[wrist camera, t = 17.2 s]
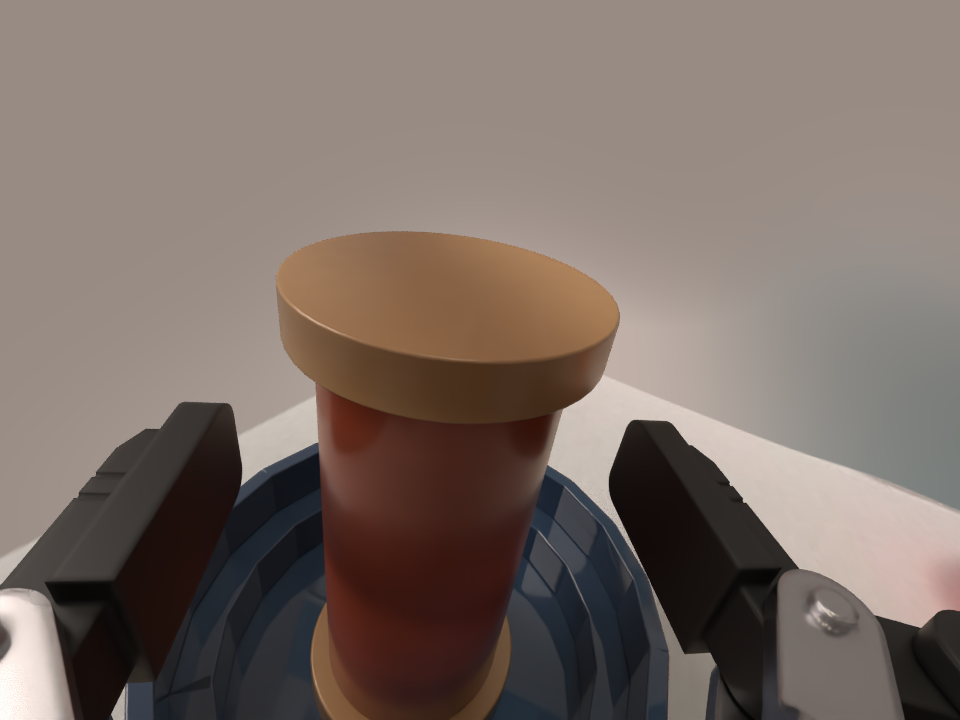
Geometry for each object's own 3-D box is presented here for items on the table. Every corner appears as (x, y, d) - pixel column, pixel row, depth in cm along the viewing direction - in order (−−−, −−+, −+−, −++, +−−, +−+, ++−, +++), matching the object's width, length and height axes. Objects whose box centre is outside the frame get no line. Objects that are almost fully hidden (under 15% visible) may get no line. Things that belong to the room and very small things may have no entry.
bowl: (478, 465, 22) (490, 398, 20) (715, 756, 13) (779, 685, 11) (157, 573, 16) (128, 488, 14) (184, 1326, 6) (107, 1400, 4)
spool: (449, 542, 17) (498, 228, 12) (544, 693, 13) (693, 327, 8) (290, 610, 14) (244, 233, 9) (350, 831, 10) (345, 402, 4)
